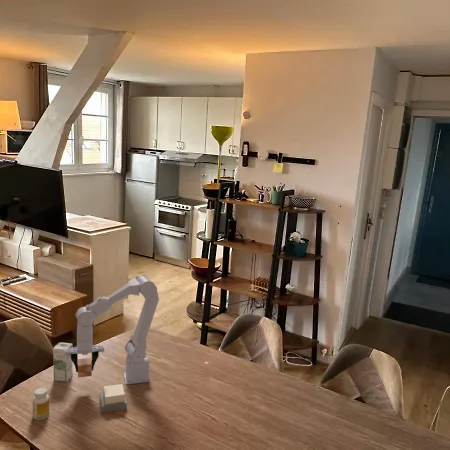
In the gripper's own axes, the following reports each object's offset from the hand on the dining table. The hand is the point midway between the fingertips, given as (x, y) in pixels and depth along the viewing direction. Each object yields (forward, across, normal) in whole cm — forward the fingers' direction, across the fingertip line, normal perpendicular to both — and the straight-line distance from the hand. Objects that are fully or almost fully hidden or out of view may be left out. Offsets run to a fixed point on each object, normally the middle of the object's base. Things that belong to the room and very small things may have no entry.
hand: (84, 370), depth 165 cm
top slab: (+6, +10, -12) cm, 17 cm away
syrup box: (+8, -8, +10) cm, 15 cm away
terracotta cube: (+1, 0, 0) cm, 1 cm away
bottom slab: (+9, +10, -12) cm, 18 cm away
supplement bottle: (+8, -15, -13) cm, 22 cm away
